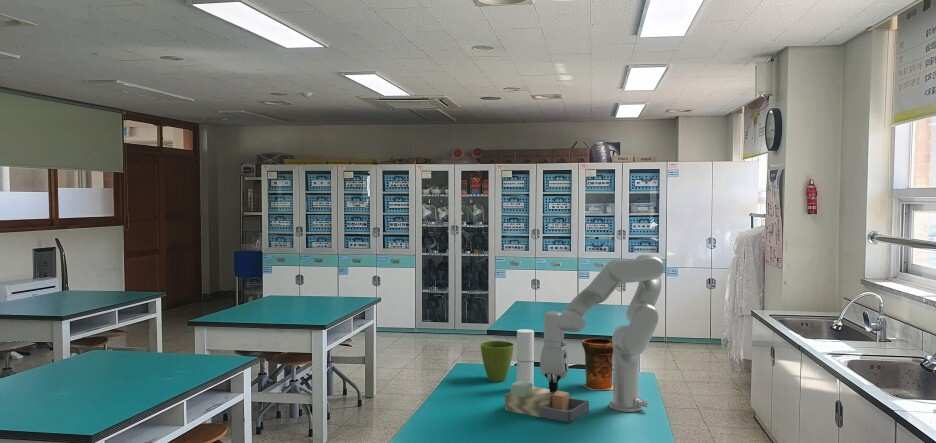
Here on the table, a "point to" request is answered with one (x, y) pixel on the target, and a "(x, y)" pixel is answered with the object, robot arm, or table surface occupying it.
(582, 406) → the box
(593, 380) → the vessel
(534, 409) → the striped wooden block
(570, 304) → the robot arm
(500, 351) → the flower pot
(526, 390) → the pale green block
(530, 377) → the cylindrical container
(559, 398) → the salmon rectangular block
